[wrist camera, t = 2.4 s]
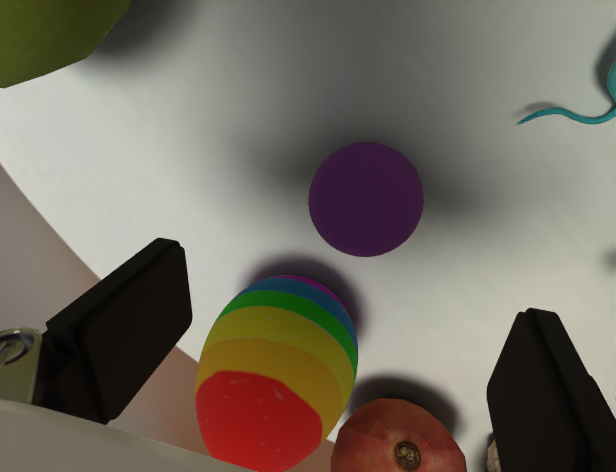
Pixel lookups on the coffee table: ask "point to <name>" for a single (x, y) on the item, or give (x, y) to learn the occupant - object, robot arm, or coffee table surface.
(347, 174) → the purple ball
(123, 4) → the apple
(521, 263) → the coffee table surface
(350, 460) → the fruit
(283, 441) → the decorative egg
